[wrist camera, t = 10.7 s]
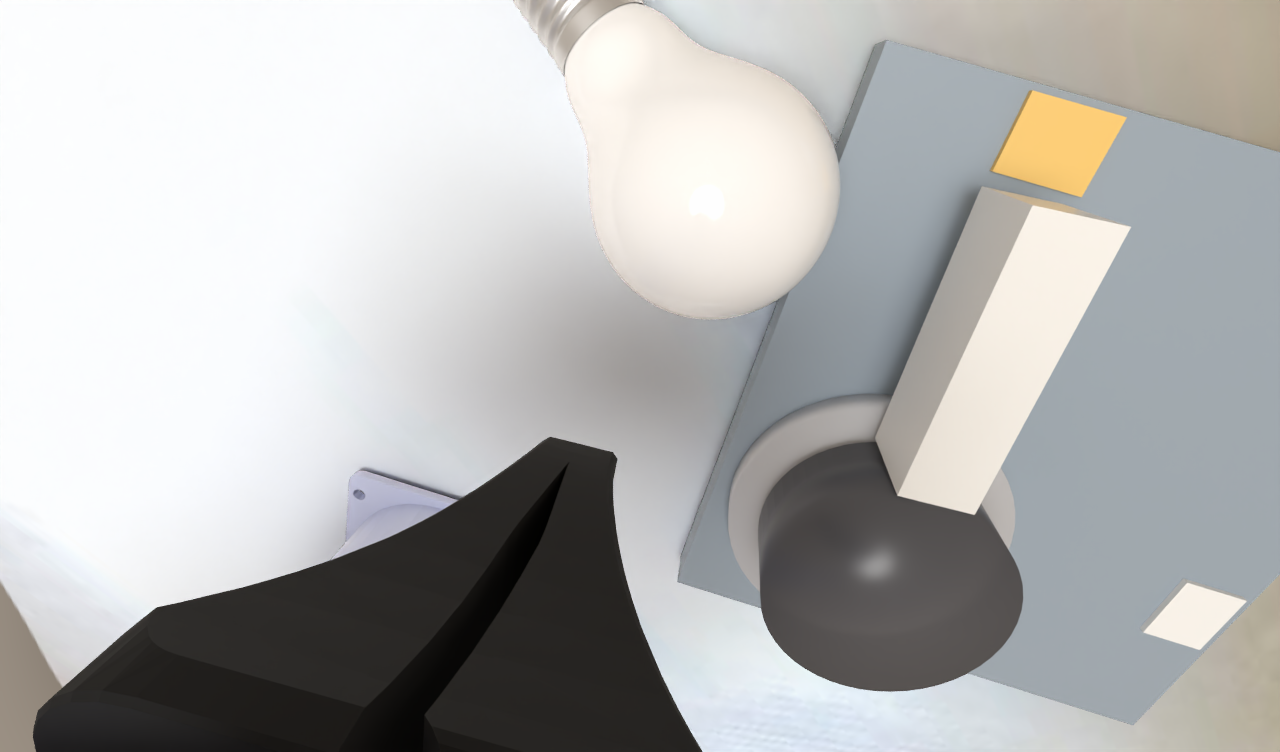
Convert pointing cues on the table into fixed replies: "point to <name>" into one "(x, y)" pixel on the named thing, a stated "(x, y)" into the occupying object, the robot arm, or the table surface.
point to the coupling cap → (933, 466)
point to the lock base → (1079, 385)
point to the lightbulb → (691, 159)
